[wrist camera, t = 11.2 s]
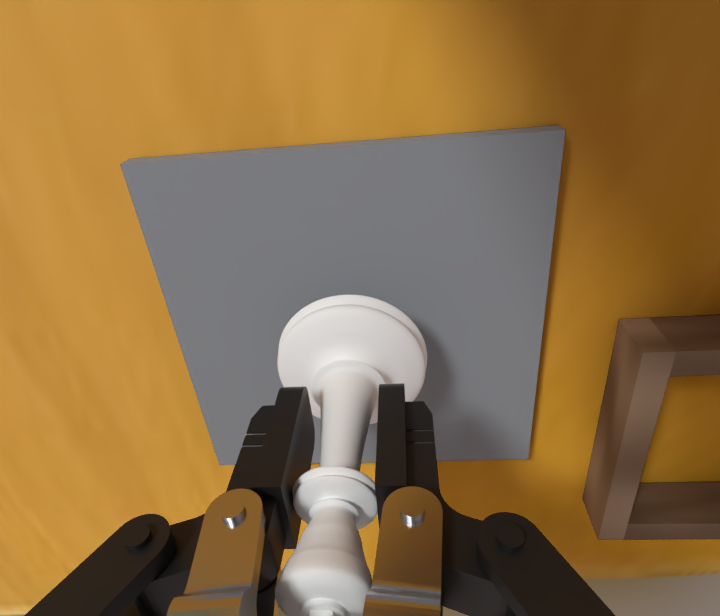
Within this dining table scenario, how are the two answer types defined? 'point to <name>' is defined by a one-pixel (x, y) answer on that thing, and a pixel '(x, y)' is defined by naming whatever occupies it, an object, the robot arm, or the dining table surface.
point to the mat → (362, 268)
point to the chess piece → (341, 440)
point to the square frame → (649, 433)
